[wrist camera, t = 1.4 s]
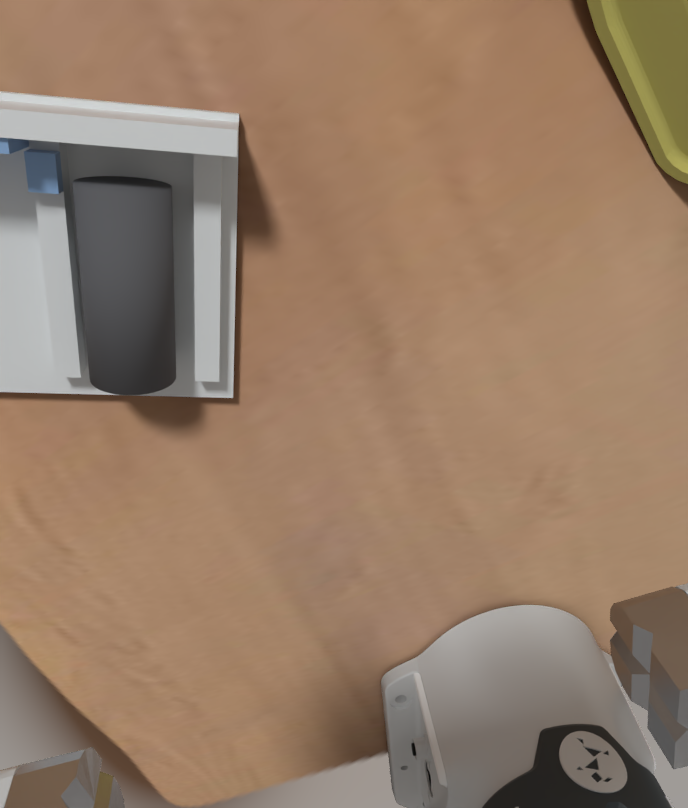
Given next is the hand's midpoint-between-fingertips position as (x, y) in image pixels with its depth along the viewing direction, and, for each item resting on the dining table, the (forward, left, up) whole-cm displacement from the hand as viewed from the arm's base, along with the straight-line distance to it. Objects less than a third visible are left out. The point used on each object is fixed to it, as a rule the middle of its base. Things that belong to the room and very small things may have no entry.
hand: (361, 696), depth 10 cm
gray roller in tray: (-1, +7, -25) cm, 26 cm away
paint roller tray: (-1, +10, -26) cm, 28 cm away
